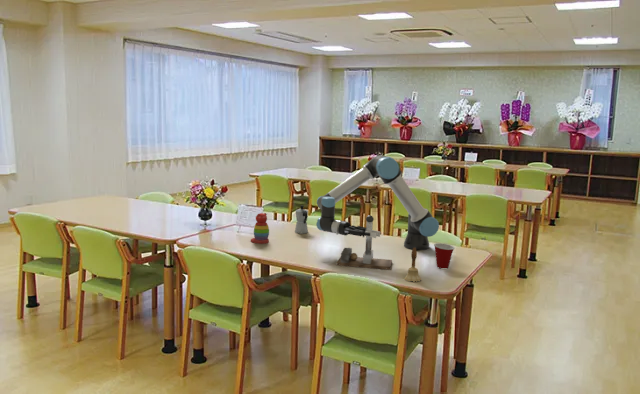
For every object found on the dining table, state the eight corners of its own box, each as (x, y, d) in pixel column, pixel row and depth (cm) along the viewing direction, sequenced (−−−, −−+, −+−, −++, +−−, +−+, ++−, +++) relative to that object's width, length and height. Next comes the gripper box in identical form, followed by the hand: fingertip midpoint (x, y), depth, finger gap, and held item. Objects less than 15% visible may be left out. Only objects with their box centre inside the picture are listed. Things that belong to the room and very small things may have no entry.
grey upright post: (372, 258, 294) (374, 213, 290) (370, 264, 284) (372, 217, 280) (365, 257, 295) (367, 213, 291) (362, 263, 284) (364, 217, 280)
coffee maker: (291, 230, 364) (292, 204, 361) (304, 229, 367) (304, 203, 364) (299, 235, 350) (300, 208, 347) (312, 234, 354) (313, 207, 351)
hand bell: (402, 276, 269) (404, 245, 267) (418, 277, 270) (420, 245, 268) (406, 282, 261) (408, 250, 259) (423, 282, 262) (425, 250, 259)
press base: (391, 262, 294) (392, 250, 293) (390, 269, 281) (390, 257, 280) (340, 258, 300) (341, 246, 298) (336, 265, 286) (337, 253, 285)
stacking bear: (265, 239, 338) (265, 211, 335) (272, 242, 330) (273, 213, 327) (249, 241, 332) (249, 212, 329) (256, 244, 324) (257, 215, 321)
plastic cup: (453, 271, 282) (455, 248, 280) (432, 269, 284) (434, 247, 282) (453, 265, 292) (454, 243, 290) (432, 263, 294) (433, 242, 292)
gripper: (349, 232, 305) (385, 239, 291) (332, 236, 292) (369, 244, 278) (350, 218, 304) (386, 225, 289) (332, 223, 291) (369, 230, 277)
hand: (377, 234), depth 284 cm, fingers closed on grey upright post, 3 cm apart
